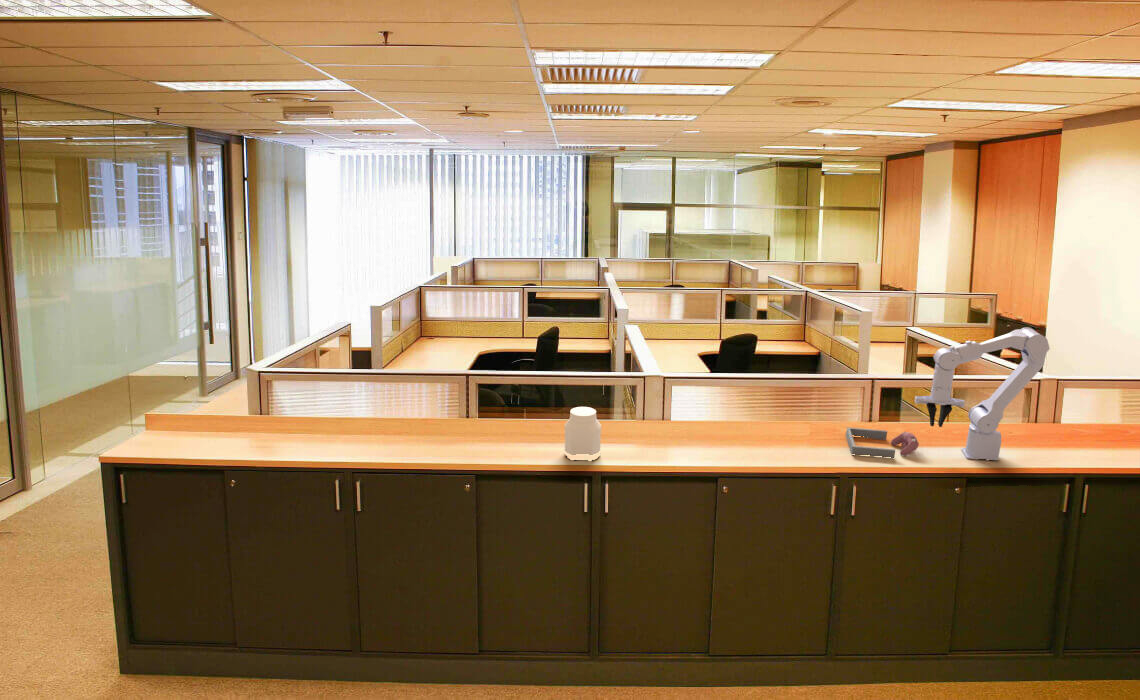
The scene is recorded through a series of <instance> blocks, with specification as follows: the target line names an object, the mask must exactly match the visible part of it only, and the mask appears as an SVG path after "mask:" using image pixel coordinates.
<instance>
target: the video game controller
mask: <svg viewBox="0 0 1140 700" xmlns="http://www.w3.org/2000/svg"><path fill="white" fill-rule="evenodd" d="M890 444H891V446H898V445H900V447H901V450H900V451H899V454H900V455H901V456H902V455H905V456H908V455H911V454H912V453H913V452H915V451H916V450H917V449H918V448H919V444H920V443H919V441H918V439H917V436H916V435H914V434H913V433H911V432H909V431H907V432H906V431H904V432H901V433H900V434H898V435H897V436H895V437H894V438H893V439H891V441H890Z"/></svg>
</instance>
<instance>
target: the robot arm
mask: <svg viewBox="0 0 1140 700" xmlns="http://www.w3.org/2000/svg"><path fill="white" fill-rule="evenodd" d="M1049 344H1050V343H1049V341H1048V339H1047V337H1045V336H1044V335H1043V334H1041V333H1039V332H1037V331H1036V330H1035V329H1034V328H1032V327H1022V328H1021V329H1020V328H1019V329H1018V328H1017V329H1014V330H1012V331H1010V332H1008V333H1006V334H1002V335H999V336H997V337H994V338H991V339H987V340H984V341H981V342H977V341H975V340H973V341H971V340H966V341H965V342H964V343H962V344H959V345H956V346H954V345H951V346H949V348H948V347H942V348H941V347H940V348H939V349H937V350H936V351H935V354H933V355H932V356H933V361H934V362H935V363H934V370H933V376H932V377H933V378H932V383H931V390H930V395H925V396H924V395H923V396H921V395H920V396H919V395H915V397H914V403H915V405H916V404H917V405H918V404H924V405H926V408H927V411H928V417H929V425H930V427H935V426H934V425H935V419H936V413H937V410H938V409H937V405H938V406H940V407H939V409H940V410H939V416H938V422H937V424H938V426H939V428H942V427H943V424H944V422H945V420H946V418H947V417H948V416H949V414H950V413H951V412H952V410H953V407H960V408H965V403H966V401H965V400H964V399H960V398H959V399H958V398H953V397H951V394H952V388H953V387H952V386H953V381H954V373H955V369H957V368H958V366H959V365H961V364H965V363H969V362H973V361H976V360H979V359H981V357H982V356H983V355H984V354H986V353H990V352H996V351H1000V350H1003V349H1008V348H1012V349H1016V350H1020V352H1021V358H1022V360H1021V362H1020V363H1019V364H1018V366H1017V367H1015V369H1014V370H1013V371H1012V372H1011V373H1010V374H1009V375H1008V377H1007V378H1006V379H1005V380H1004V381H1003V382H1002V384H1000V385H999V387H998V388H997V389H996V390H995V391H994V392H993V393H992V395H991V396H990V397H989V398H987V399H984V400H981V401H980V402H979V404H977V405H974V406H972V408H970V410H969V411H968V414H967V415H968V416H967V417H968V419H969V421H970V424H969V426H968V432H967V437H966V445H965V447H961V448H960V449H961V451H962V452H963V454H964V456H965V457H966V459H970V460H978V459H986V460H985V461H989V460H999V456H1000V451H1001V445H1002V434H1001V432H1000V431H999V430H997V429H998V427H999V423H1000V422H1001V420H1003V418H1004V411H1005V409H1006V408H1007V406H1009V405H1010V403H1012V401H1014V399H1016V397H1017V395H1019V393H1021V391H1022V390H1023V389H1024V388H1025V387H1026V385H1028V383H1029V382H1030V381H1031V380H1033V378H1034V377H1036V375H1037V374H1038V373H1039V371H1040V370H1042V368H1043V366H1044V365H1045V360H1046V356H1047V353H1048V352H1049V351H1050V349H1051V348H1050V345H1049ZM987 459H988V460H987ZM999 461H1000V460H999Z"/></svg>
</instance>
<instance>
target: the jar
mask: <svg viewBox="0 0 1140 700" xmlns="http://www.w3.org/2000/svg"><path fill="white" fill-rule="evenodd" d="M569 413H570V414H569V419H568V420H567V421H566V422H565V424H564V451H566V452H567V453H569V454H571V455H576V454H589V455H593V454H596V453H598V452H599V451H601V436H602V435H601V434H602V432H601V431H602V424H601V423H600V422H599V420H598V419H597V409H594V408H592V407H590V406H589V407H588V406H577V407H573V408H571V409H570V412H569Z"/></svg>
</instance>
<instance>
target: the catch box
mask: <svg viewBox="0 0 1140 700" xmlns="http://www.w3.org/2000/svg"><path fill="white" fill-rule="evenodd" d="M846 428H847V431H846V430H845V437H846V441H847V445H848V448H849V452H850V455H851V454H855V455H870V456H882V457H891V458H894V459H895V457H896V456H895V455H896V449H894V448H884V447H874V446H873V447H872V446H860V445H856V443H855V440H854V439H855V438H854V437H853V436H852V435H854V436H861V437H863V436H864V437H865V438H864V439H869V438H872V439H871V440H882V441H886V440H887V436H888V430H885V429H883V430H881V429H874V428H873V429H871V428H862V427H861V428H860V427H859V428H857V427H847V426H846ZM867 437H868V438H867Z"/></svg>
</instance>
